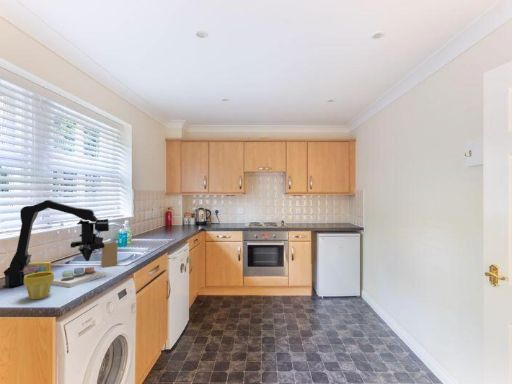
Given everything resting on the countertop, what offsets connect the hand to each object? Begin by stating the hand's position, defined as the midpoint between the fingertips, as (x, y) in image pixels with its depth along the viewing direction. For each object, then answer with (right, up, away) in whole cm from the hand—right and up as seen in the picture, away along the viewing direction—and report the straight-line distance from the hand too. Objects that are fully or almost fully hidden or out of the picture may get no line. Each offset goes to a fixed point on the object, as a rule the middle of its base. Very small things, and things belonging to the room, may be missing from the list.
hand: (87, 260), depth 148 cm
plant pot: (-4, -9, -28) cm, 30 cm away
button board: (-2, -9, -5) cm, 10 cm away
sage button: (-4, -5, -10) cm, 12 cm away
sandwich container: (-3, -10, +28) cm, 30 cm away
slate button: (-2, -5, -5) cm, 7 cm away
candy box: (-29, -9, 0) cm, 30 cm away
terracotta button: (0, -6, +1) cm, 6 cm away
